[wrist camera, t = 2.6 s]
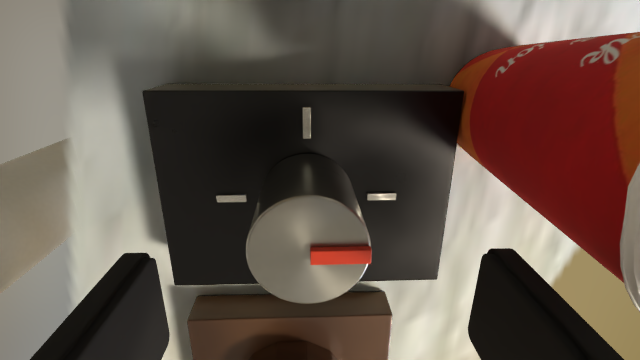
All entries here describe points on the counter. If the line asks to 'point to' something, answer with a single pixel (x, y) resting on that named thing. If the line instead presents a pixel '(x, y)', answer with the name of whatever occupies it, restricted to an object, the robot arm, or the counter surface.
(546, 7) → the counter surface
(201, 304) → the button block
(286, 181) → the knob
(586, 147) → the paper cup
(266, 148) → the panel
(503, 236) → the counter surface
